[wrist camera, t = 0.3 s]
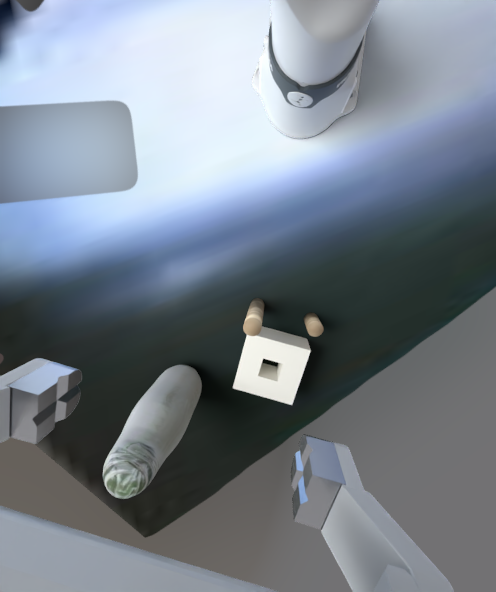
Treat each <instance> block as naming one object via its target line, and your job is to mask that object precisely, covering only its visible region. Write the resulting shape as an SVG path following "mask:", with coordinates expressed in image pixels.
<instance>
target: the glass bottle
mask: <svg viewBox="0 0 496 592" xmlns="http://www.w3.org/2000/svg"><path fill="white" fill-rule="evenodd" d="M201 389H202V383H201V379H200V376H199V374H198V373H197V371H196V370H195V369H194V368H192V367H190V366H187V365H176V366H173V367H171V368H169V369H167V370H166V371H165V372H163V373H162V374H161V375H160V377H159V378H158V379H157V380H156V382H155V383H154V384H153V385H152V386H151V388H150V389H149V390H148V391H147V392H146V393H145V394H144V396H143V397H142V398H141V399H140V401H139V402H138V403H137V404H136V406H135V407H134V409H133V411H132V412H131V414H130V416H129V418H128V420H127V422H126V424H125V427H124V429H123V431H122V433H121V435H120V437H119V439H118V440H117V442H116V444H115V445H114V447H113V448H112V450H111V451H110V453H109V455H108V457H107V459H106V461H105V464H104V468H103V480H104V484H105V486H106V488H107V490H108V491H109V493H110V494H111V495H113V496H115V497H117V498H121V499H127V498H130V497H132V496H135V495H137V494H139V493H140V492H141V491H143V490H144V489H145V488H146V487H147V486H148V485H149V484H150V482H151V481H152V479H153V478H154V476H155V474H156V473H157V471H158V469H159V468H160V466H161V465H162V463H163V462H164V460H165V459H166V458H167V457H168V455H169V454H170V453H171V452H172V451H173V450H174V448H175V447H176V446H177V444H178V443H179V441H180V440H181V438H182V436H183V434H184V432H185V430H186V428H187V426H188V423H189V421H190V419H191V416H192V414H193V411H194V409H195V407H196V405H197V402H198V400H199V397H200V394H201Z"/></svg>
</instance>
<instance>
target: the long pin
mask: <svg viewBox="0 0 496 592" xmlns="http://www.w3.org/2000/svg"><path fill="white" fill-rule="evenodd" d="M263 312H264V302H263V300H261V299H259V298H255V299H253V300H252V302H251V304H250V307H249V310H248V313H247V316H246V319H245V322H244V325H243V329H244V332H245V333H246V334H247V335H249V336H256V335H258V334H259V333H260V332H261V328H262V320H263Z"/></svg>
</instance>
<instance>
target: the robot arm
mask: <svg viewBox="0 0 496 592" xmlns="http://www.w3.org/2000/svg"><path fill="white" fill-rule="evenodd" d="M378 3H379V0H270V9H271V17H270V22H269V26H270V29H269V36H267V35H266V36H265V39H264V43H263V47H264V50H263V52H262V55H261V57H260V60H259V62H258V65H257V67H256V70H255V73H254V75H253V78H252V87H253V89H254V91H255V92H256V94H257V95H258V96H259V97H260V98H261V100H262V102H263V105H264V109H265V112H266V115H267V117H268V119H269V121H270V122H271V124H272V125H273V126H274V127H275V128H276V129H277V130H278V131H279V132H281V133H282V134H284V135H286V136H289V137H292V138H309V137H312V136H315V135H317V134H319V133H321V132H322V131H324V130H325V129H327V128H328V127H329V126H330V125H331V124H332V123H333V122H334V121H335V120H336V119H337V118H339V117H342V116H344V115H346V114H349V113H350V112H352V111H353V110H354V108H355V106H356V104H357V98H358V90H359V83H360V75H361V68H362V60H363V53H364V45H365V38H366V31H367V27H368V25H369V23H370V20H371V18H372V16H373V14H374V12H375V9H376V7H377V5H378ZM259 75H260V76H259ZM351 95H352V98H350V96H351ZM81 381H82V372H81V371H80V370H78V369H75V368H72V367H68V366H65V365H62V364H59V363H56V362H52V361H48V360H45V359H42V358H37V359H34V360H32V361H30V362H28V363H26V364H24V365H22V366H20V367H18V368H16V369H14V370H12V371H10V372H8V373H6V374H4V375H2V376H0V443H1V442H3V441H5V440H8V439H9V437H12V438H15V439H19V440H23V441H27V442H30V443H34V444H37V443H38V442H39V441H40V440H41V439H42V438H43V437H45V436H46V435H47V434H48V433H49V432H50V431H52V430H53V429H54V426H55V422H57V421H60V420H63V419H65V418H66V417H67V416H68V415H70V414H71V413H72V411H73V410H74V408H75V407H76V406H77V404H78V401H79V398H80V390H79V388H78V386H77V384H78V383H79V382H81ZM299 446H300V451H298V452H297V453H296V454H295V456H294V459H293V463H292V468H291V485H292V487H293V488H294V490H295V493H294V495H293V498H292V501H293V513H294V521H296V522H299V523H302V524H305V525H308V526H311V527H314V528H317V529H320V530H322V531H321V532H322V534H323V536H324V538H325V540H326V542H327V544H328V546H329V547H330V549H331V551H332V553H333V555H334V557H335V559H336V561H337V563H338V564H339V566H340V568H341V570H342V572H343V574H344V576H345V577H346V580H347V581H348V583H349V585H350V587H351V589H352V591H353V592H454V590H453V588H452V586H451V584H450V583H449V581H448V580H447V579H446V578H445V576H444V575H443V574H442V573H441V572H440V571H439V570H438V569H437V567H436V566H435V565H434V564H433V563H432V562H431V561H430V560H429V559H428V557H427V556H426V555H425V554H424V553H423V552H422V551H421V550H420V549H419V547H418V546H417V545H416V544H415V543H414V542H413V541H412V540H411V538H410V537H409V536H408V535H407V534H406V533H405V532H404V531H403V529H402V528H401V527H400V526H399V525H398V524H397V523H396V522H395V521H394V519H393V518H392V517H391V516H390V515H389V514H388V513H387V512H386V511H385V509H384V508H383V507H382V506H381V505H380V504H379V503H378V502H377V500H376V499H375V498H374V497H373V496H372V495H371V494H370V493H369V492H367V491H364V488H363V485H362V483H361V480H360V477H359V475H358V472H357V469H356V466H355V464H354V461H353V458H352V456H351V453H350V450H349V448H348V447H347V446H346V445H343V444H339V443H335V442H330V441H326V440H323V439H319V438H316V437H312V436H308V435H305V434H303V436H302V437H301V440H300V442H299ZM0 592H278V591H275V590H272V589H269V588H266V587H262V586H259V585H256V584H253V583H249V582H246V581H243V580H239V579H236V578H233V577H230V576H226V575H223V574H220V573H217V572H213V571H210V570H206V569H204V568H200V567H197V566H194V565H190V564H187V563H183V562H180V561H177V560H174V559H171V558H168V557H164V556H161V555H158V554H154V553H151V552H148V551H145V550H142V549H138V548H135V547H132V546H129V545H125V544H122V543H119V542H116V541H113V540H109V539H106V538H103V537H99V536H96V535H93V534H90V533H87V532H83V531H80V530H77V529H74V528H71V527H67V526H64V525H61V524H58V523H54V522H51V521H48V520H44V519H41V518H38V517H35V516H32V515H29V514H25V513H22V512H19V511H16V510H12V509H9V508H6V507H2V506H0Z"/></svg>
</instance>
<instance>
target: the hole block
mask: <svg viewBox="0 0 496 592" xmlns="http://www.w3.org/2000/svg"><path fill="white" fill-rule="evenodd" d="M310 352H311V349H310V346H309V343H308V340H307V338H303V337H299V336H296V335H292V334H288V333H285V332H281V331H277V330H274V329H270V328H266V327H263V326H262V328H261V332H260V333H259V334H258V335H256V336H249V335H247V337H246V341H245V344H244V348H243V352H242V355H241V359H240V363H239V366H238V370H237V374H236V378H235V381H234V385H233V388H234V389H237V390H241V391H244V392H248V393H251V394H255V395H258V396H262V397H265V398H269V399H273V400H276V401H280V402H283V403H287V404H290V405H292V404H293V401H294V398H295V395H296V392H297V389H298V386H299V383H300V381H301V378H302V375H303V372H304V369H305V366H306V363H307V360H308V357H309V355H310ZM263 359H267V360H271V361H274V362H278V366H277V367H275V366H272V365H268V364H265V363H262V361H263Z"/></svg>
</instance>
